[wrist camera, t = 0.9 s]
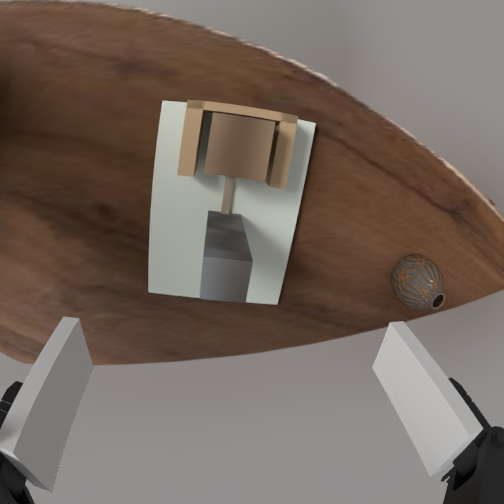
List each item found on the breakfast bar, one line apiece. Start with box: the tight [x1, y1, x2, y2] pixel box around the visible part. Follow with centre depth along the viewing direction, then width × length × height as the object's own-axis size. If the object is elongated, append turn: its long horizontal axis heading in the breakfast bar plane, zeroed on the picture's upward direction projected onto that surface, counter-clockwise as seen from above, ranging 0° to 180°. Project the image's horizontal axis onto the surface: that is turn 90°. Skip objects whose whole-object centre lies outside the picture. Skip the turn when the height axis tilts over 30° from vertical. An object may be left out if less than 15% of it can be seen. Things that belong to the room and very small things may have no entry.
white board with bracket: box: [148, 100, 316, 305], centre depth 31 cm, size 16×22×5 cm
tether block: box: [199, 112, 276, 303], centre depth 26 cm, size 5×14×12 cm, turn 171°
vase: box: [391, 255, 445, 310], centre depth 35 cm, size 7×7×9 cm
